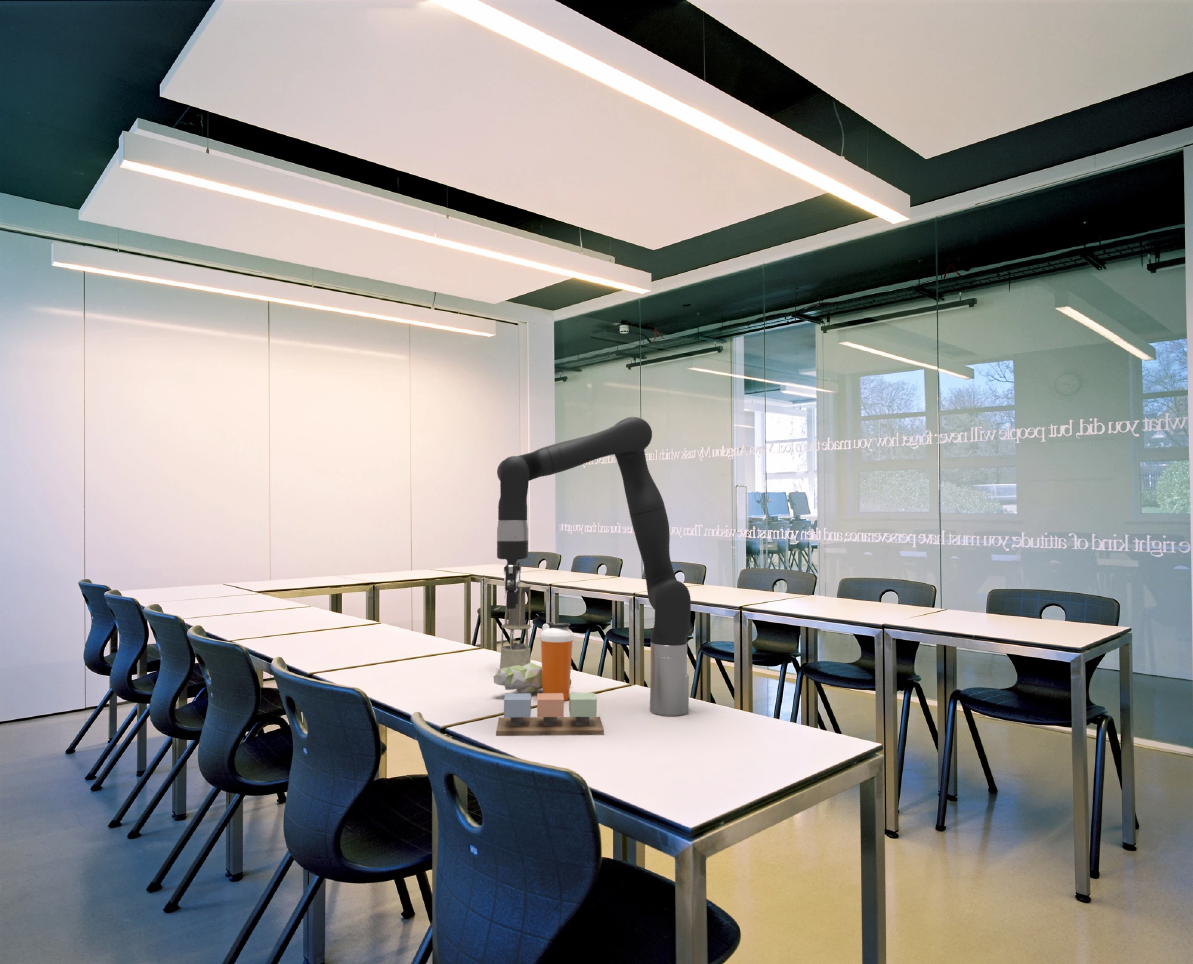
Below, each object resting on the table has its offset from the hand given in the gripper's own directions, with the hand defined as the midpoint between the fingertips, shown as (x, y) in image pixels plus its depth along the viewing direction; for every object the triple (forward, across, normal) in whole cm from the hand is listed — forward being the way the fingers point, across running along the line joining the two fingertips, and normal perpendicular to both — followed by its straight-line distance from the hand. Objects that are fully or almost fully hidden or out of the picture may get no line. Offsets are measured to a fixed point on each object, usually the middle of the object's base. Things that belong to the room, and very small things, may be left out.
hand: (512, 606), depth 176 cm
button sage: (+24, -7, -17) cm, 30 cm away
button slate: (+24, -7, -2) cm, 25 cm away
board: (+27, -7, -9) cm, 29 cm away
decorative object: (+27, +27, -4) cm, 39 cm away
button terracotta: (+24, -7, -9) cm, 26 cm away
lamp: (+27, +51, +3) cm, 58 cm away
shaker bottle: (+27, +20, -10) cm, 36 cm away
